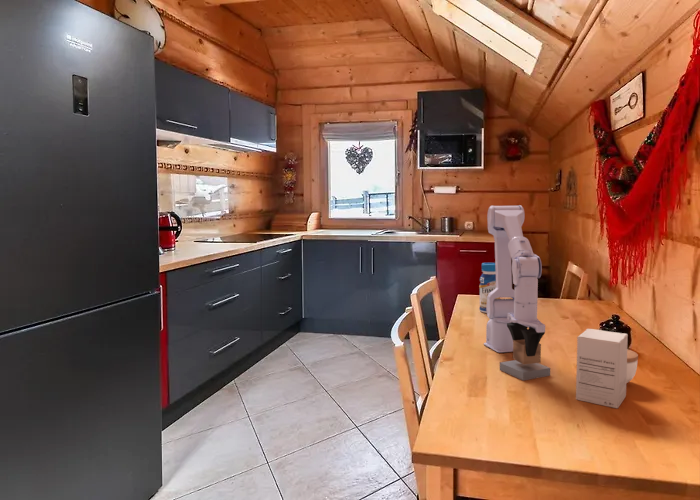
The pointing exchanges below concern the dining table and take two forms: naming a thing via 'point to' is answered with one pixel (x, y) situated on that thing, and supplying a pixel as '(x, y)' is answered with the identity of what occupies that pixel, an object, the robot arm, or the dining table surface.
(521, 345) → the walnut block
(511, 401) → the dining table surface
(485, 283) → the beverage bottle
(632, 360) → the lidded jar
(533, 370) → the plate
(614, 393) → the supplement box
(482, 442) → the dining table surface
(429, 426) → the dining table surface
